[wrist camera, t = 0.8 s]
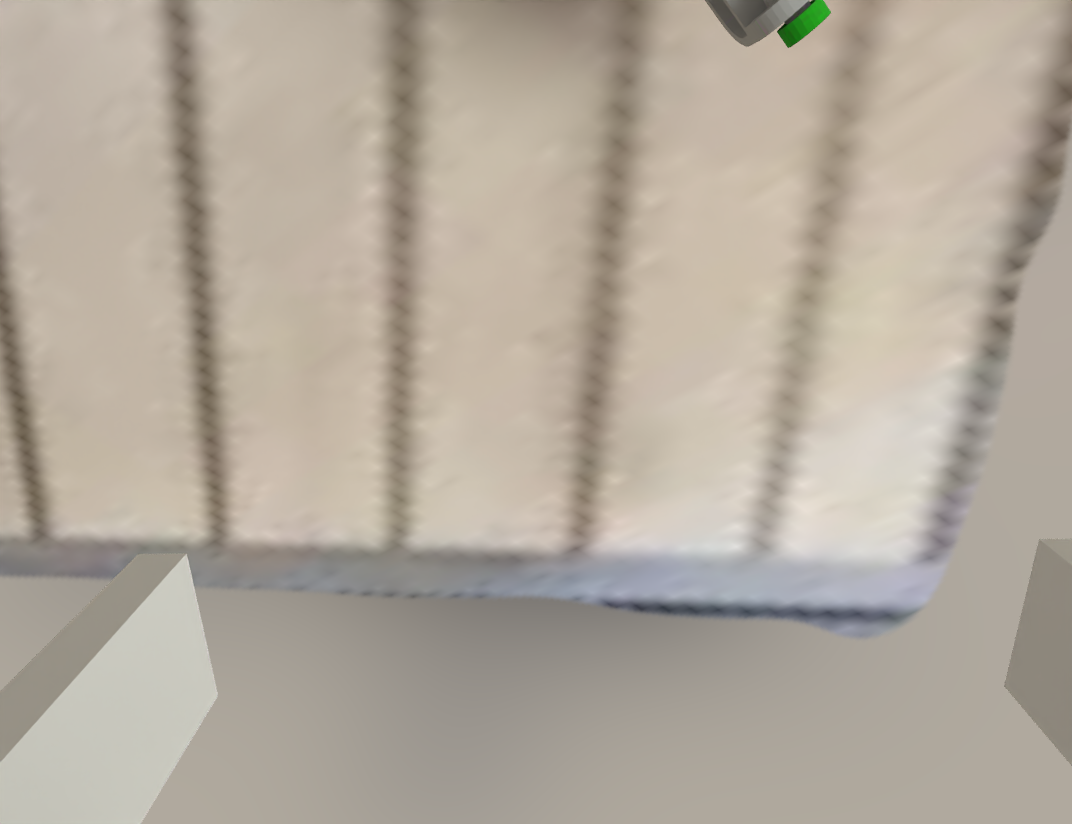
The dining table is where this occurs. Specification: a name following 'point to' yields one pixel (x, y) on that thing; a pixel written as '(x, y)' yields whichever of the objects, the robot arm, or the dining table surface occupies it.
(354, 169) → the dining table surface
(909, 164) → the dining table surface
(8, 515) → the dining table surface
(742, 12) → the mechanical component
